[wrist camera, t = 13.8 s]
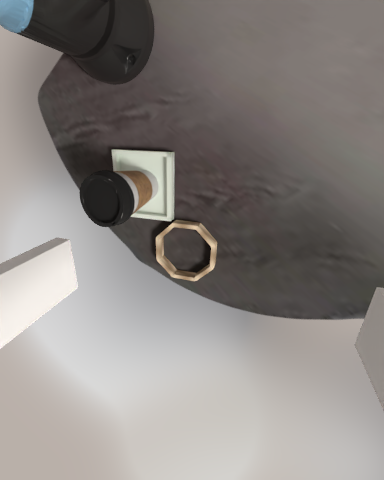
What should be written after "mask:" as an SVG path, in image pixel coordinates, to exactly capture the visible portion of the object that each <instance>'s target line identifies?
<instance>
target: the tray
mask: <svg viewBox="0 0 384 480" xmlns="http://www.w3.org/2000/svg"><path fill="white" fill-rule="evenodd" d="M112 160H113V171H136V170H147V171H149V172H151V173H152V174H153V175H154V176H155V177H156V179H157V181H158V186H159V188H158V192H157V194H156V196H155V197H154V198H152V199H151V200H150V201H148V202H147V203H146V204H145V205H144V206H142V207H141V208H140V209H139V210H138V211H136V212H135V213H134V214H133V215H131V216H130V217H138V218H147V219H155V220H163V221H172V220H173V219H174V152H162V151H142V150H121V149H114V150H112Z"/></svg>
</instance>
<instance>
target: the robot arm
mask: <svg viewBox="0 0 384 480" xmlns="http://www.w3.org/2000/svg"><path fill="white" fill-rule="evenodd" d="M0 25H1V26H2V27H4V28H5V29H7V30H9V31H11V32H14V33H17V34H20V35H22V36H24V37H27V38H29V39H32V40H34V41H37V42H39V43H41V44H44V45H46V46H49V47H51V48H54V49H56V50H58V51H61V52H63V53H66V54H68V55H70V56H71V57H72V58H73V59H74V60H75V61H76V62H77V63H78V64H79V65H80V67H81V68H82V69H83V70H84V71H85V72H86V73H88V74H89V75H90V76H92V77H93V78H95V79H97V80H100V81H102V82H105V83H108V84H123V83H126V82H128V81H130V80H132V79H133V78H135V77H136V76H137V75H138V74H139V73H140V72H141V71H142V69H143V68H144V66H145V65H146V63H147V61H148V59H149V56H150V53H151V50H152V46H153V39H154V21H153V15H152V10H151V7H150V4H149V1H148V0H0ZM77 288H78V284H77V278H76V272H75V268H74V262H73V256H72V250H71V244H70V240H69V239H62V238H55V239H53V240H50V241H48V242H46V243H44V244H42V245H40V246H38V247H35V248H33V249H31V250H29V251H27V252H25V253H23V254H21V255H18V256H16V257H14V258H12V259H10V260H8V261H6V262H3V263H1V264H0V349H1V348H2V347H3V346H4V345H6V344H7V343H8V342H10V340H12V339H13V338H15V337H16V336H17V335H18V334H20V333H21V332H22V331H23V330H25V329H26V328H27V327H29V326H30V325H31V324H32V323H33V322H35V321H36V320H37V319H39V318H40V317H41V316H43V315H44V314H45V313H46V312H48V311H49V310H50V309H51V308H53V307H54V306H55V305H56V304H57V303H59V302H60V301H62V300H63V299H64V298H65V297H67V296H68V295H69V294H70V293H72V292H73V291H74V290H76V289H77ZM355 347H356V349H357V351H358V353H359V356H360V358H361V360H362V362H363V365H364V367H365V369H366V371H367V374H368V376H369V378H370V380H371V383H372V385H373V387H374V390H375V392H376V394H377V396H378V399H379V401H380V403H381V406H382V408H383V410H384V288H379V287H377V288H376V291H375V293H374V296H373V298H372V301H371V304H370V306H369V309H368V311H367V314H366V316H365V319H364V322H363V324H362V327H361V329H360V332H359V335H358V337H357V340H356V342H355Z"/></svg>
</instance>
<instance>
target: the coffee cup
mask: <svg viewBox="0 0 384 480" xmlns="http://www.w3.org/2000/svg"><path fill="white" fill-rule="evenodd" d="M158 188H159V186H158V181H157V179H156V177H155V176H154V175H153V174H152V173H151V172H149V171H147V170H136V171H108V170H105V171H98V172H95V173H93V174H92V175H91V176H89V177H87V178H86V179H85V180H84V181H83V183H82V184H81V188H80V200H81V203H82V206H83V209H84V211H85V212H86V214H87V215H88V217H89V218H90V219H91V220H92V221H93V222H94V223H96V224H97V225H99V226H102V227H111V226H115V225H119V224H122V223H124V222H125V221H126V220H128V219H129V218H130V216H131V215H133V214H134V213H135V212H136V211H138V210H139V209H140V208H141V207H142V206H144V205H145V204H146V203H147V202H148V201H150V200H151V199H152V198H154V197H155V196H156V194H157V192H158Z"/></svg>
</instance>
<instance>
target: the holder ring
mask: <svg viewBox="0 0 384 480" xmlns="http://www.w3.org/2000/svg"><path fill="white" fill-rule="evenodd" d="M173 227H179V228H187V229H195V230H197V231H198V232H199V234H200V235H201V236H202V237H203V238H204V239H205V240H206V242H207V243H208V244H209V245H210V246H211V256H210V264H209V265H207V266H206V267H204V268H203V269H202V270H200V271H199V272H197V273H194V272H188V271H182V270H177V269H176V268H175V267H174V266H173V265H172V263H171V262H170V261H169V260H168V259H167V258H166V257H165V256H164V248H163V236H164V235H165V234H166V233H168V232H169V231H170V230H171V229H172V228H173ZM216 250H217V241H216V240H215V239H214V238H213V236H212V235H211V234H210V233H209V232H208V231H207V229H206V228H205V227H204V226H203V225H202V224H201V223H200V222H191V221H183V220H175V221H174V222H173V223H172V224H171V225H169V226H168V227H167V228H166V229H165V230H164V231H163V232H162V233H160V234H159V235H158V236H157V237H156V259H157V261H158V262H159V263H160V264H161V265H162V266H163V268H164V269H165V270H166V271H167V272H168V273H169V274H170V275H171V276H172V277H173V278H179V279H185V280H190V281H197V280H198V279H200V278H201V277H203V276H204V275H206V274H207V273H208V272H210V271H211V270H213V269H214V266H215V263H216Z"/></svg>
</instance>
